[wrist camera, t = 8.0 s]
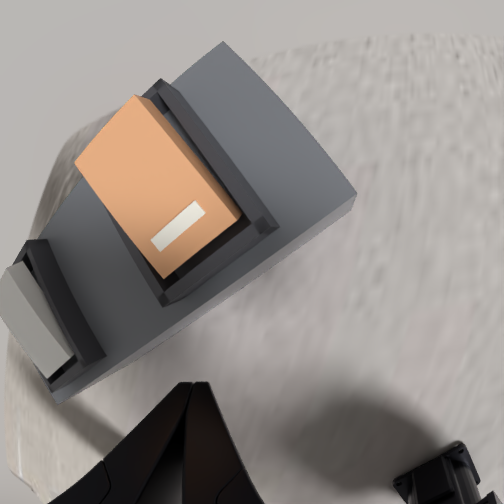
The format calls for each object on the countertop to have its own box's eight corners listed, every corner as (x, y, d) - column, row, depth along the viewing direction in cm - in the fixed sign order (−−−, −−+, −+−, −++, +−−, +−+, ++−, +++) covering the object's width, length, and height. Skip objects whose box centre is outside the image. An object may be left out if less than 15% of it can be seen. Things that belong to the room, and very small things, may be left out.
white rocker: (83, 345, 13) (70, 357, 12) (59, 367, 14) (47, 379, 13) (22, 260, 12) (6, 268, 11) (4, 292, 13) (-10, 300, 12)
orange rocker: (243, 212, 10) (236, 220, 9) (175, 266, 11) (162, 280, 10) (149, 99, 10) (133, 94, 8) (92, 160, 10) (72, 162, 9)
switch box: (351, 210, 18) (359, 187, 8) (135, 360, 24) (42, 413, 14) (273, 112, 19) (209, 23, 9) (88, 279, 25) (-13, 299, 15)
